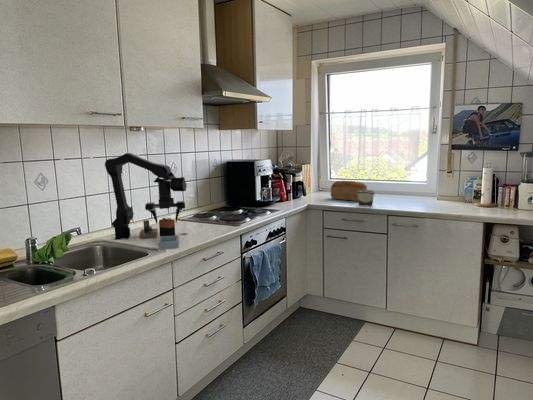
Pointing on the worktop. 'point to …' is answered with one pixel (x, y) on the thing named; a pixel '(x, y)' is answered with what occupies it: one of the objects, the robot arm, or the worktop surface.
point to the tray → (168, 242)
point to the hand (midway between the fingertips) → (166, 222)
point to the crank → (146, 228)
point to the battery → (167, 227)
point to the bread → (346, 190)
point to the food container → (365, 197)
